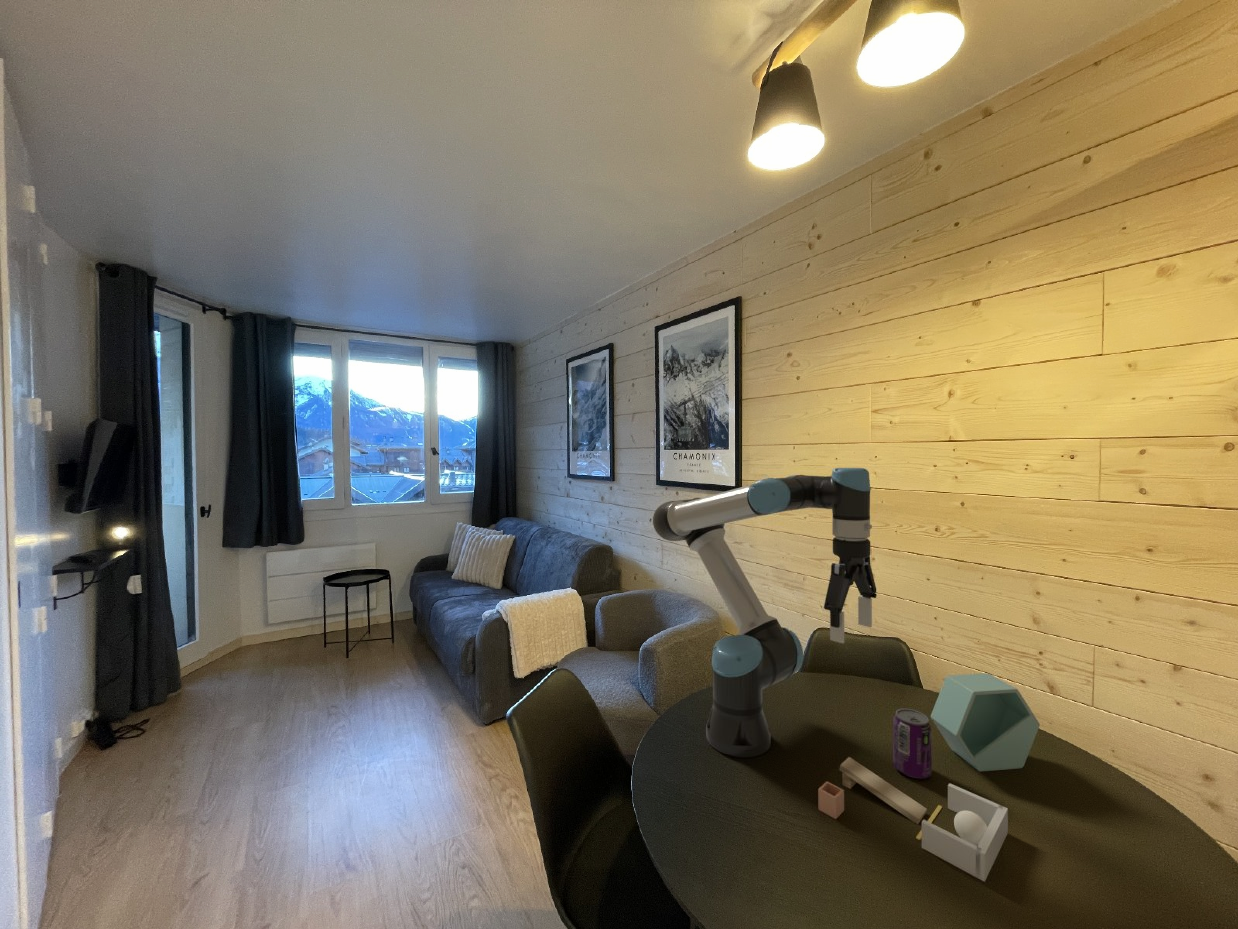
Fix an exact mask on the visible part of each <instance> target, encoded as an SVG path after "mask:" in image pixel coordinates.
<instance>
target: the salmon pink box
mask: <svg viewBox="0 0 1238 929" xmlns="http://www.w3.org/2000/svg"><path fill="white" fill-rule="evenodd" d="M817 791H818V794H817V796H818V799H817V800H818V803H817V806H818V807H817V808H818V810H819V811H820V812H822V813H824V814H825V815H828V816H829V817H831V818H833V819H834V820H837V818H839V817H840V815H841V814H842V813H844V812H845V789H843V788H842V787H839V786H837V785H835V784H833V783H831V782H829V781H827V780H826V781H825V782H824V783H823V784H822V785H821V786H820V787H819V788H818V790H817Z"/></svg>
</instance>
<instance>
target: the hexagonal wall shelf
mask: <svg viewBox="0 0 1238 929" xmlns="http://www.w3.org/2000/svg"><path fill="white" fill-rule="evenodd" d="M929 717H930V719H931V721H932V722H933V724H934V725H935V726H936V728H937V729H938V731H939V732H940V734H941V735H942V738H943V739H944V740H945V741H946V743H947V745H948V746H949V748H950V749H951V750H952V751H953V752H954V753H955V754H957V755H958V756H959V757H960V758H962V759H963V761H964V760H965V762H967V763H968V764H969V765H970V766H972V767H973V768H974V769H975V770H977V771H978V772H989V771H990V772H991V771H992V772H993V771H1002V770H1003V771H1004V770H1005V771H1006V770H1015V769H1022V768H1023V767H1024V766H1025V763H1026V761H1027V758H1028V756H1029V754H1030V751H1031V749H1032V746H1033V744H1034V741H1035V738H1036V736H1037V733H1038V731H1039V728H1040V726H1041V724H1040V722H1039V720H1038V719H1037V718H1036V716H1035V714H1034V713H1033V711H1032V710H1031V707H1030V706H1029V704H1028V703H1027V701H1026V700H1025V698H1024V697H1023V696H1022V694H1021V692H1020V690H1018V688H1016V687H1014V686H1012V685H1011V684H1009V683H1007V682H1005V681H1003V680H1001V679H999V678H998V677H995V676H994V675H992V674H990V673H988V672H985V673H983V672H982V673H968V674H967V673H966V674H956V675H955V674H951V675H950V674H949V675H946V676H945V679H944V681H943V683H942V686H941V689H940V691H939V694H938V696H937V699H936V701H935V704H934V706H933V709H932V711H931V714H930V716H929Z"/></svg>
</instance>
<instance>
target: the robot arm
mask: <svg viewBox="0 0 1238 929" xmlns="http://www.w3.org/2000/svg"><path fill="white" fill-rule="evenodd" d="M831 471H832V473H831V475H830V476H828V475H827V476H824V475H820V476H819V475H805V474H795V475H794V474H793V475H788V476H787V477H777V478H776V477H775V478H774V477H768V478H764V479H758V480H757V481H755V482H754V483H752V484H748V485H745V486H742V487H738V488H733V489H730V490H726V491H723V492H718V493H715V494H711V495H708V496H705V497H695V498H690V499H682V500H681V499H680V500H679V499H678V500H669V501H666V502H663V503H662V504H660V505H659V506H658V507H657V508H656V510H655V511H654V514H653V516H652V525H653V528H654V530H655V532H656V533H657V535H658V536H659V537H661V538H662V539H663V540H666V541H668V542H669V541H670V542H680V541H685V542H686V544H687V546H688V548H689V549H690V550H691V551H693V552H696V553H697V554H698V555H699V559H701V561H702V564H704V567H705V569H706V571H707V572H708V574H709V576H710V578H711V580H712V582H713V584H714V586H715V587H716V589H717V591H718V593H719V595H720V597H721V599H722V600H723V603H724V604H725V607H727V610H728V611H729V612H728V613H729V614H730V615H731V617H732V618H733V620H734V622H735V624H736V627H737V628H738V632H737V633H738V634H736V635H733V634H732V635H728V636H723V637H722V638H720V639H719V640H717V641H716V642H715V644H714V646H713V647H712V656H711V670H712V674H711V676H712V707H711V709H710V713H709V716H708V718H707V722H706V726H705V736H706V740H707V742H708V744H710V745H711V747H713V749H715V750H716V751H718V752H720V753H722V754H725V755H727V756H731V757H737V758H754V757H757V756H758V757H759V756H761V755H762V754H764V753H766V752H767V751H768V750H769V749H770V747H771V730H770V728H769V725H768V723H767V722H768V721H767V719H766V715H765V713H764V710H763V691H764V689H767V688H769V687H771V686H773V685H775V684H777V683H780V682H781V681H784V680H787V679H788V678H791V677H792V676H793V675H794V674H796V673H798V671H799V670H800V669H801V667H802V664H803V659H804V650H803V646H802V642H801V641H800V639H799V637H798V636H797V635H796V633H795V632H793V631H792V630H791V629H790V630H789V629H788V628H787V627H783V626H781V623H780V622H779V621H778V619H777V618H776V617H775V616H772V615H769V614H768V613H767V612H766V610H765V607H764V605H762V603H761V601H760V599H759V597H758V595H757V594H756V592H755V590H754V588H753V587H752V585H751V584H750V581H749V579H747V577H746V575H745V573H744V572H743V569H742V568H741V566H740V564H739V562H738V561H737V559H736V557H735V556H734V554H733V552H732V551H731V549H730V547H729V545H728V544H727V542H726V540H725V536H726V529H725V528H724V527H725V524H727V523H728V524H729V523H733V522H738V521H743V520H747V519H752V518H757V517H761V516H768V515H772V514H778V513H782V512H787V511H788V512H789V511H796V510H802V509H811V508H812V509H827V510H831V511H832V523H831V524H832V525H831V526H832V528H831V529H832V530H831V531H832V532H831V533H832V536H834V537H833V539H832V553H833V554H834V555H835V556H837V557H838V558H839V560H838V563H836V562H835V563H834V562H833V563H831V567H830V576H829V581H828V585H827V586H828V587H827V590H826V594H825V595H826V596H825V600H824V603H823V608H824V610H826V611H829V640H830V641H832V642H833V641H834V642H836V643H840V644H845V612H844V611H843V610H844V609H843V608H844V606H845V603H846V600H847V597H848V594H849V591H850V587H851V586H852V585H855V586H856V589H857V591H858V592H859V596H858V597H857V599H858V600H857V604H858V605H857V606H858V607H857V613H858V617H857V619H858V625H859V626H863V627H867V628H872V627H873V601H872V600H873V599H877V596H878V595H877V594H878V593H877V586H876V583H875V577H874V574H873V569H872V565H871V540H870V539H868V538H870V536H871V529H872V528H873V525H872V524H871V514H870V513H871V508H870V507H871V490H872V487H871V483H870V482H871V480H870V478H871V477H870V472H869V470H868V469H866V468H864V467H835V468H833V470H831Z"/></svg>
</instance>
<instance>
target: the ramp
mask: <svg viewBox="0 0 1238 929" xmlns="http://www.w3.org/2000/svg"><path fill="white" fill-rule="evenodd" d="M838 770H839V771H840V772H841V773H842V774H841V775H842V779H841V780H842V786H843V787H846V788H848V789H850V790H851V789H852V788H853V787H854V786H855V785H856V784H859V785H860V786H861V787H863V788H864V789H866V790H867V791H869V792H870V793H871V794H872V795H875V797H877V798H879V799H880V800H881V801H883V802H884V803H886V804H887V805H888V806H890V807H891V808H893V809H894V810H896V811H897V812H899V813H900V814H901V815H903V816H904V817H905V818H907V819H909V820H910V821H911V822H913V823H915V824H918V825H919V824H920V822H922V820H923V819H924V816H925V815H926V814H927V811H928V809H927V808H926V807H925V806H923V805H922V804H920V803H919V802H918V801H916V800H914V799H913V798H912V797H910V796H909V795H907V794H905V793H904V792H902V791H901V790H900V789H898V788H896V787H895V786H894V785H892V784H890V783H889V782H887V781H886V780H884V779H883V778H882V777H880V776H879V775H877V774H875V773H874V772H873V771H872V770H870V769H868V768H866V766H864V765H862V764H860V763H859V762H858V761H857V760H855V759H853V758H852V757H850V756H848V757H847V758H846V759H845V760H844V761H843V762H841V764H840V765H839V769H838Z"/></svg>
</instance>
